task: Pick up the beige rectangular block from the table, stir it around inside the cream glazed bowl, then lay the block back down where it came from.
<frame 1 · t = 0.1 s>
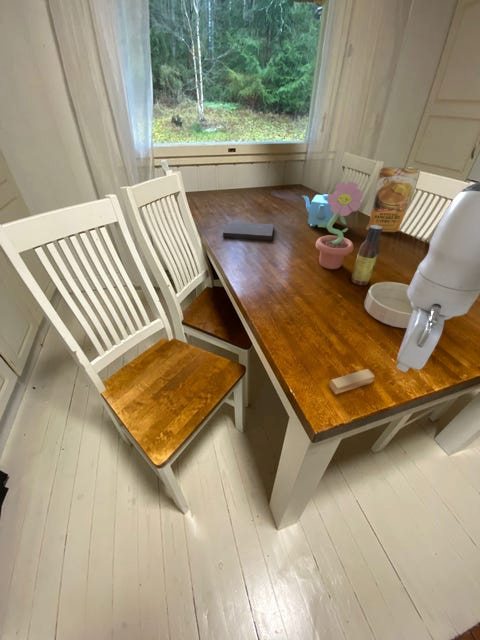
hand: (406, 352, 52), 14 cm above the table, tool pointing down, fingers open, 8 cm apart
decorative flower: (328, 265, 109), on the table
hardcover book: (249, 233, 134), on the table
bowl: (393, 311, 85), on the table
pancake mix bag: (381, 230, 139), on the table
teakettle: (320, 225, 144), on the table
sauce bottle: (359, 282, 99), on the table
beige rectangular block: (350, 384, 63), on the table
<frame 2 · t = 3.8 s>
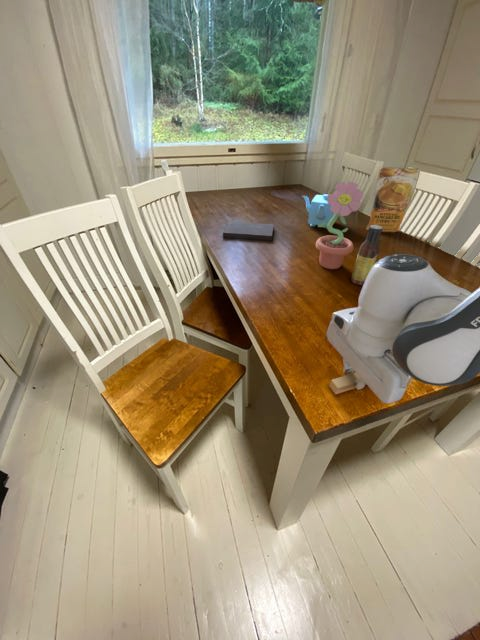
hand: (352, 380, 62), 2 cm above the table, tool pointing down, fingers closed on beige rectangular block, 2 cm apart
beige rectangular block: (350, 384, 63), on the table, touching gripper
everything else where it was.
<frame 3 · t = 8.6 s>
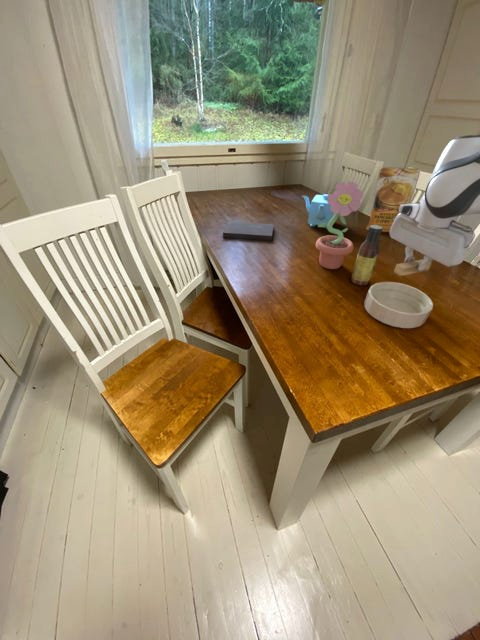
hand: (413, 266, 75), 16 cm above the table, tool pointing down, fingers closed on beige rectangular block, 2 cm apart
beige rectangular block: (410, 271, 76), point 14 cm above the table, touching gripper
everything else where it was.
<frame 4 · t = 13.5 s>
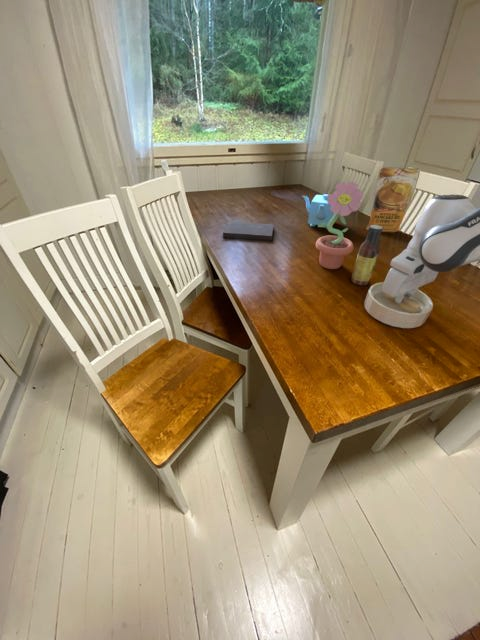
hand: (402, 300, 83), 4 cm above the table, tool pointing down, fingers closed on beige rectangular block, 2 cm apart
beige rectangular block: (400, 304, 84), point 2 cm above the table, touching gripper
everything else where it was.
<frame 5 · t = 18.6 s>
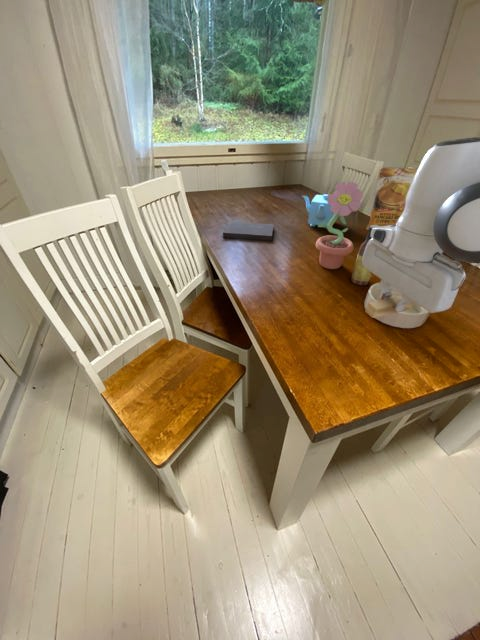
hand: (390, 304, 58), 17 cm above the table, tool pointing down, fingers closed on beige rectangular block, 2 cm apart
beige rectangular block: (387, 310, 59), point 15 cm above the table, touching gripper
everything else where it was.
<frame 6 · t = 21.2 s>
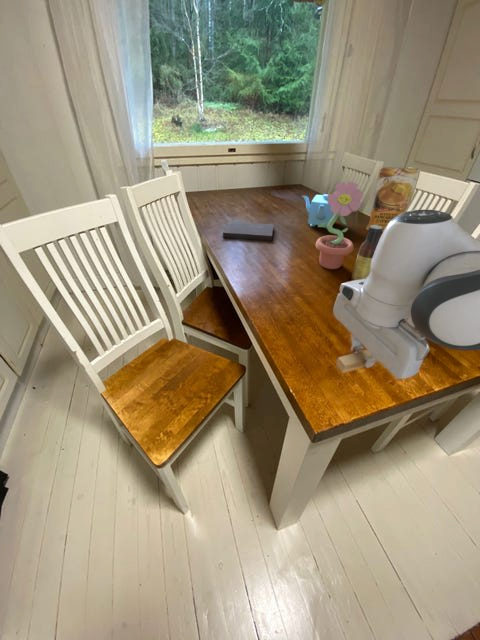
hand: (361, 358, 57), 9 cm above the table, tool pointing down, fingers closed on beige rectangular block, 2 cm apart
beige rectangular block: (358, 363, 58), point 7 cm above the table, touching gripper
everything else where it was.
when the fingers open (1 cm above the table, at t = 23.1 s): beige rectangular block stays where it is, on the table.
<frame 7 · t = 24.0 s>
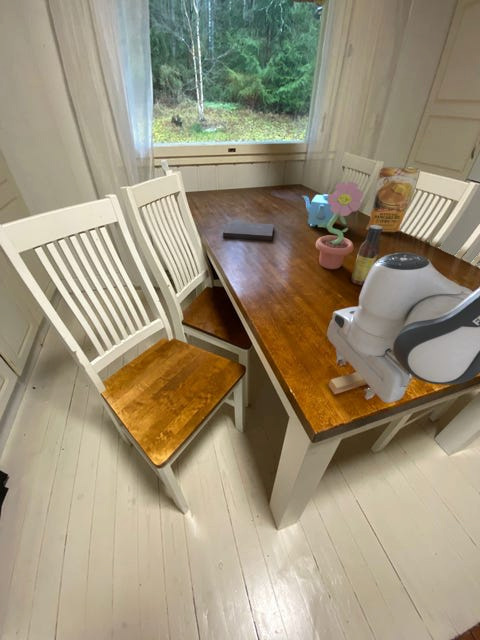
hand: (352, 379, 61), 2 cm above the table, tool pointing down, fingers open, 8 cm apart
beige rectangular block: (349, 384, 63), on the table
everything else where it was.
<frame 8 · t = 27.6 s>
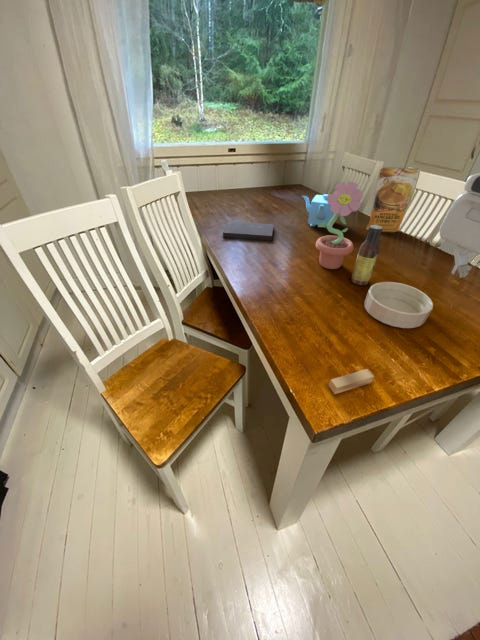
nothing on the table moved.
at the end: beige rectangular block inside the target area (0.1 cm from its centre), on the table; the gripper is holding nothing; bowl moved 0.0 cm from its start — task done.
